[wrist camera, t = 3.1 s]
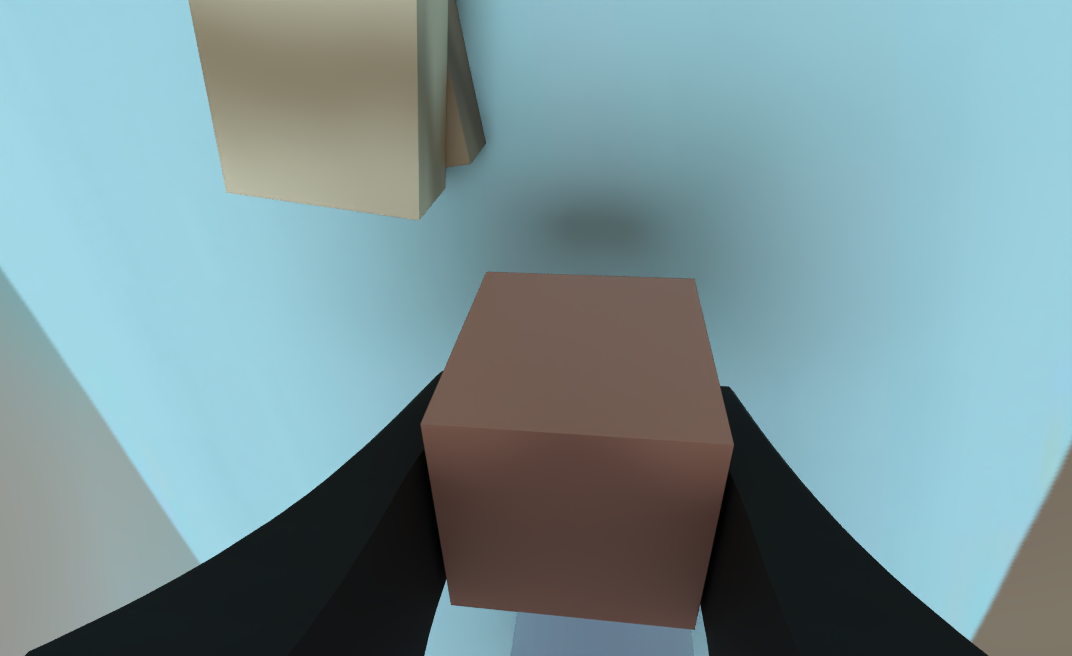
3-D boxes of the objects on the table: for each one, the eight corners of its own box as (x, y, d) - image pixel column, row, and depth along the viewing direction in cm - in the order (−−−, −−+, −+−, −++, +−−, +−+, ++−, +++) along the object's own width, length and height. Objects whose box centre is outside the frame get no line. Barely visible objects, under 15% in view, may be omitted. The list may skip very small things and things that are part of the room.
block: (672, 437, 13) (695, 629, 9) (498, 425, 14) (450, 605, 10) (694, 278, 11) (734, 444, 7) (486, 271, 11) (420, 423, 8)
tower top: (445, 187, 16) (419, 220, 14) (276, 163, 17) (226, 192, 15) (448, -16, 14) (416, -12, 12) (246, -40, 14) (180, -41, 12)
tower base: (487, 140, 18) (470, 163, 16) (342, 163, 19) (307, 187, 17) (448, -47, 16) (421, -48, 14) (283, -10, 17) (234, -7, 14)
